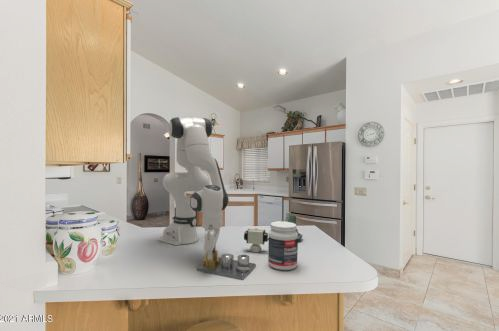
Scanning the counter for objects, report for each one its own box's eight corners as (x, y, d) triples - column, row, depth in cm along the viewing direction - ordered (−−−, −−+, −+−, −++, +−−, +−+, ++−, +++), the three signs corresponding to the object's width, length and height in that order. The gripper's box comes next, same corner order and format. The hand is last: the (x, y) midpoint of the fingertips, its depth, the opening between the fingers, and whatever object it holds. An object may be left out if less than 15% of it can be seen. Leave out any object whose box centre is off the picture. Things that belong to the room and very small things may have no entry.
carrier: (196, 270, 106) (196, 254, 106) (213, 259, 119) (213, 244, 119) (243, 280, 98) (243, 262, 98) (255, 266, 111) (256, 251, 111)
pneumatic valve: (266, 254, 126) (267, 230, 126) (243, 252, 129) (243, 228, 128) (267, 250, 132) (268, 227, 132) (245, 248, 134) (246, 225, 134)
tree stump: (263, 237, 158) (269, 208, 159) (292, 243, 162) (298, 215, 164) (273, 244, 140) (280, 212, 142) (305, 251, 144) (312, 220, 146)
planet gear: (201, 265, 108) (201, 254, 108) (204, 259, 115) (204, 248, 115) (218, 266, 107) (219, 254, 107) (221, 259, 115) (221, 248, 115)
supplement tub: (291, 274, 104) (292, 229, 104) (263, 267, 110) (263, 225, 110) (301, 263, 115) (302, 223, 115) (275, 258, 122) (275, 219, 121)
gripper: (216, 229, 101) (215, 263, 101) (222, 217, 121) (221, 246, 121) (200, 228, 101) (199, 263, 101) (208, 217, 121) (208, 246, 121)
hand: (211, 254), depth 111 cm, fingers open, 8 cm apart
